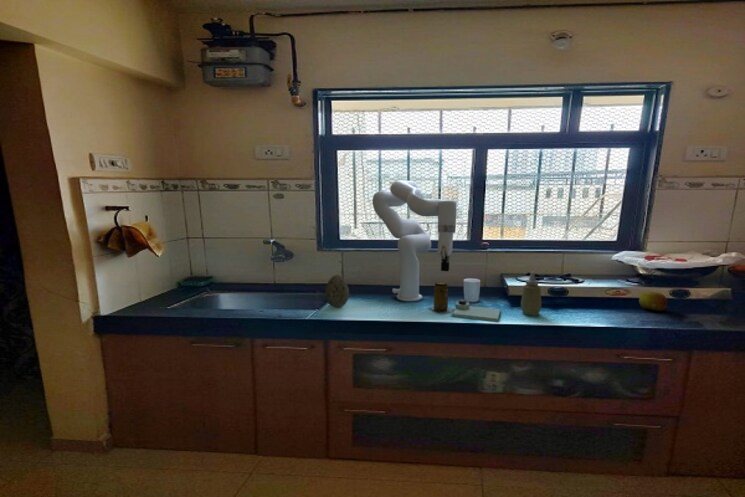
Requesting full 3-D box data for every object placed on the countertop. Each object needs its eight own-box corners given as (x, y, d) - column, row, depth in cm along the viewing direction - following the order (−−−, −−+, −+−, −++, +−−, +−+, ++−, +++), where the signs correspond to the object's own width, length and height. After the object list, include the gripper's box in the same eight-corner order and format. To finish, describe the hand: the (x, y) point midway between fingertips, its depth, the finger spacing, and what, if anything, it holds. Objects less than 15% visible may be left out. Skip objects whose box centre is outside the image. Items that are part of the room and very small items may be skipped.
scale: (451, 316, 146) (451, 309, 146) (456, 307, 158) (456, 301, 158) (497, 321, 139) (498, 314, 139) (500, 312, 151) (500, 305, 150)
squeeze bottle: (532, 318, 143) (534, 274, 140) (516, 312, 150) (517, 271, 147) (545, 315, 146) (547, 272, 144) (529, 309, 153) (530, 269, 151)
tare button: (458, 304, 153) (458, 301, 153) (459, 303, 156) (459, 299, 156) (465, 305, 152) (465, 301, 152) (466, 303, 155) (466, 299, 155)
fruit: (663, 308, 152) (665, 290, 151) (669, 314, 144) (671, 295, 143) (636, 306, 157) (638, 288, 156) (640, 311, 149) (642, 293, 148)
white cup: (478, 298, 173) (478, 278, 171) (481, 302, 165) (482, 282, 164) (461, 298, 173) (462, 278, 172) (464, 302, 166) (464, 281, 164)
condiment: (442, 306, 160) (442, 280, 159) (454, 311, 153) (454, 284, 151) (429, 308, 157) (429, 282, 156) (440, 313, 150) (441, 286, 148)
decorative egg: (344, 302, 168) (343, 272, 166) (352, 308, 159) (352, 276, 157) (322, 305, 164) (321, 274, 162) (330, 312, 154) (329, 278, 152)
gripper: (441, 227, 158) (439, 266, 161) (434, 230, 145) (432, 273, 148) (458, 227, 156) (456, 268, 159) (452, 231, 142) (450, 275, 145)
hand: (444, 270), depth 153 cm, fingers closed
